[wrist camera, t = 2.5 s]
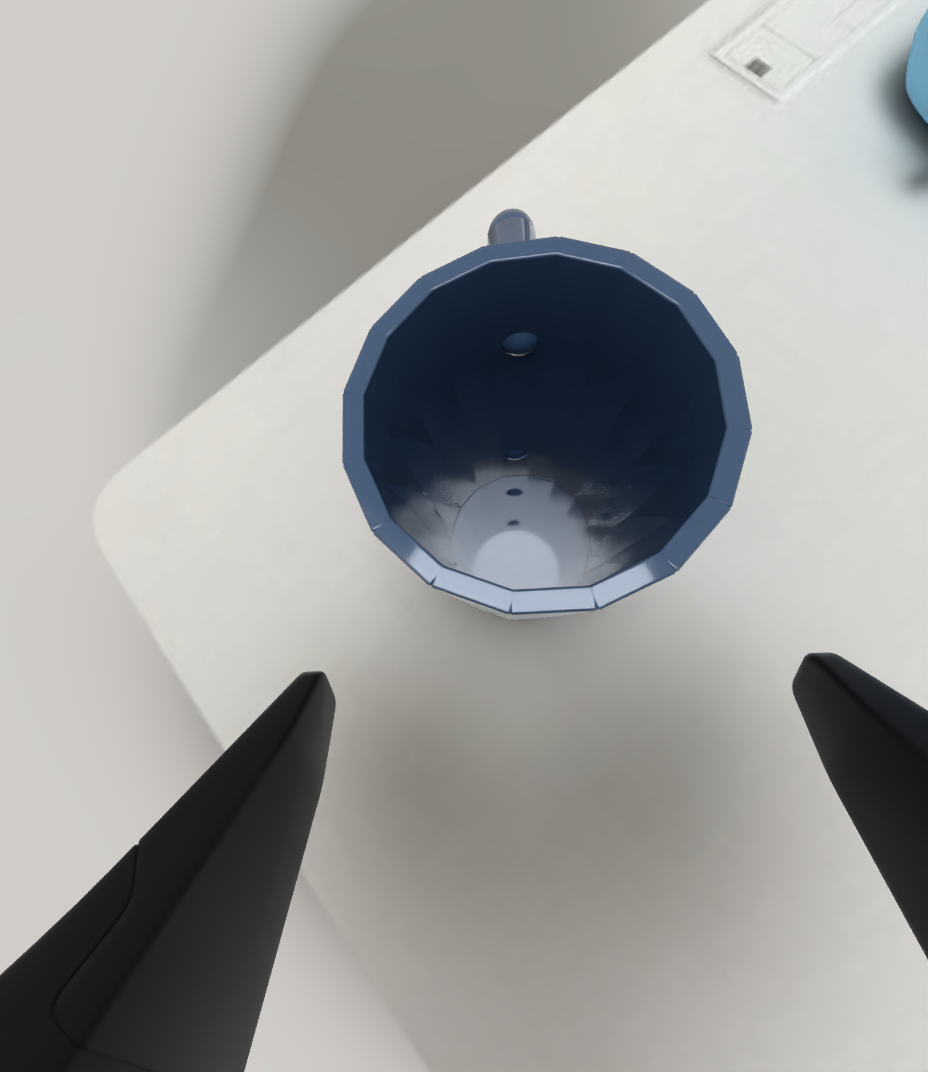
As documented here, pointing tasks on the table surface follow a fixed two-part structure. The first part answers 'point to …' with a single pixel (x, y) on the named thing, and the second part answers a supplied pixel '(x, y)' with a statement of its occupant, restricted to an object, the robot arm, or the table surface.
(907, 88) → the teapot
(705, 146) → the table surface
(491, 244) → the mug
